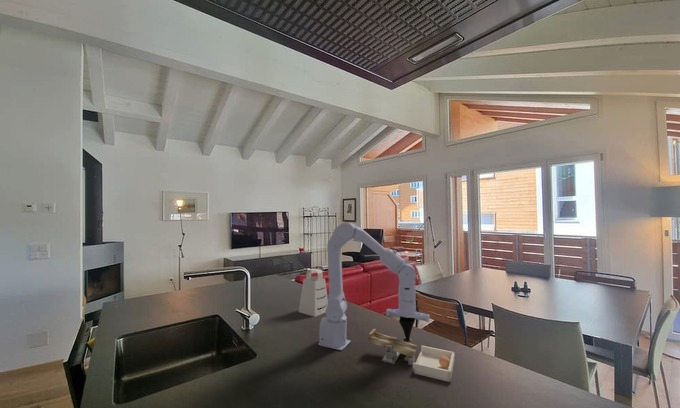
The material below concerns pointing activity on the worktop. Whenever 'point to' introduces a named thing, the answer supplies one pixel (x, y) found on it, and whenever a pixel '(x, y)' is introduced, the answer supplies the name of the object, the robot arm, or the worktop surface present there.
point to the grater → (313, 294)
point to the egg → (444, 361)
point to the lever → (393, 343)
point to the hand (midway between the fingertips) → (407, 339)
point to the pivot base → (394, 355)
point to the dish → (434, 363)
